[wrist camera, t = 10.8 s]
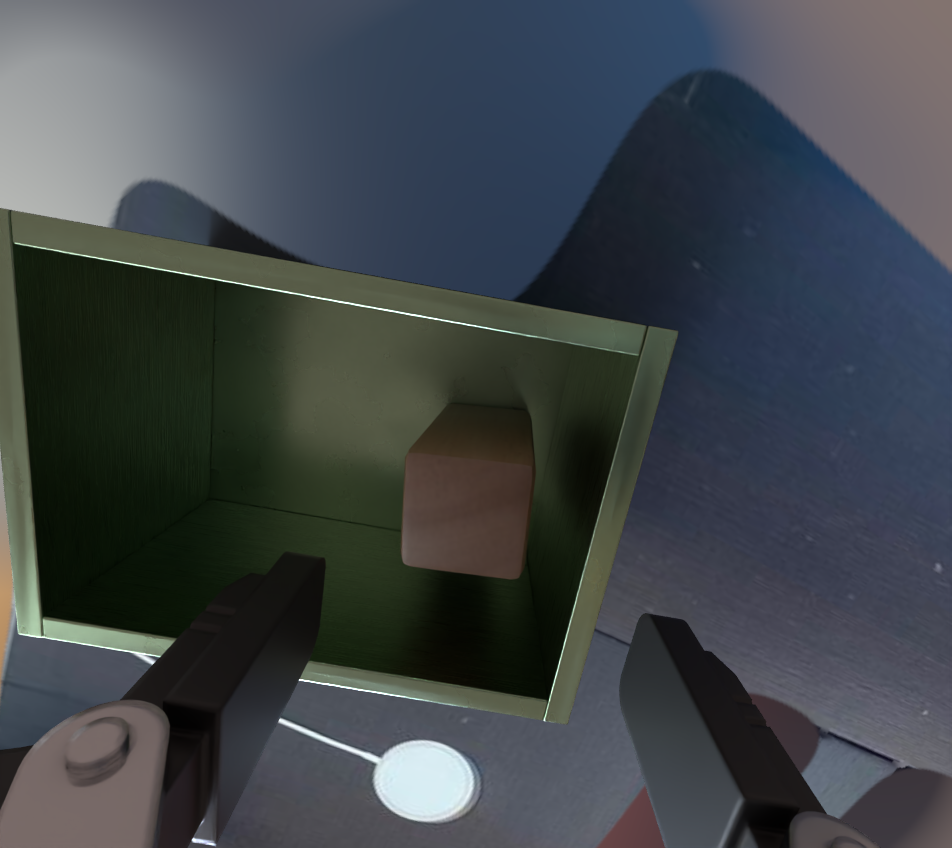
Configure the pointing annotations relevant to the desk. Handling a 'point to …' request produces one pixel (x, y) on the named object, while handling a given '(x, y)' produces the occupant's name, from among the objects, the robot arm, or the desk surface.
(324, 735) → the desk surface
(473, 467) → the wooden block
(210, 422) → the waste bin
